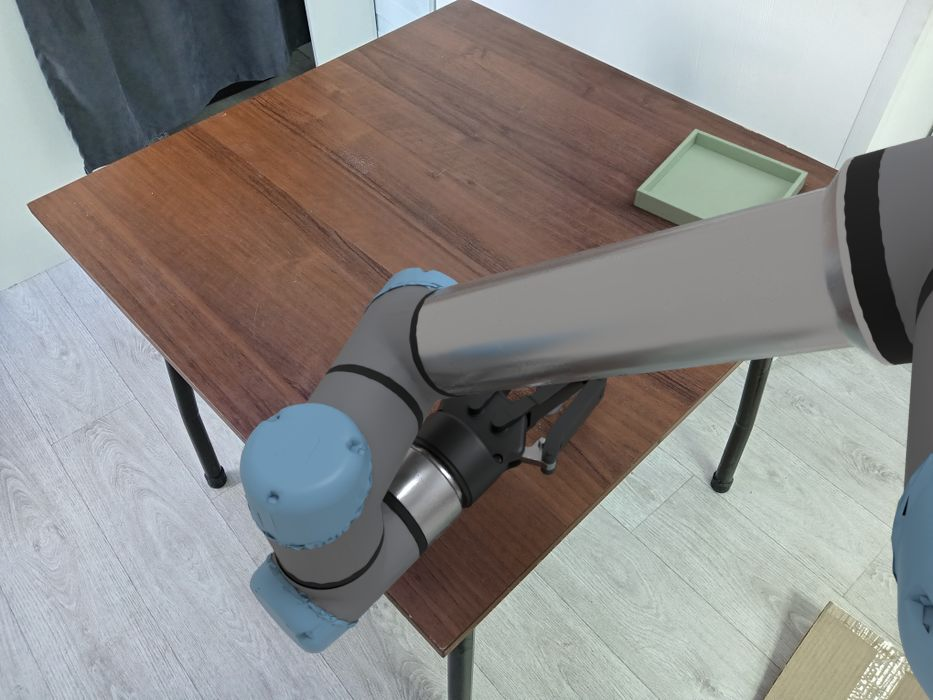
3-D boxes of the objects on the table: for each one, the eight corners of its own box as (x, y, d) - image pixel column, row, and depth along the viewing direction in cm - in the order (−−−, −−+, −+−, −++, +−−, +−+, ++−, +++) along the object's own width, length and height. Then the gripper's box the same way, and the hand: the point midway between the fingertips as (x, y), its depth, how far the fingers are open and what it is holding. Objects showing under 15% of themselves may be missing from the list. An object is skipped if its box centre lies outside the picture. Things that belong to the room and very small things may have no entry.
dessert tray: (802, 187, 97) (808, 172, 95) (749, 257, 89) (755, 241, 88) (691, 143, 103) (695, 128, 101) (633, 205, 95) (636, 189, 94)
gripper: (369, 444, 67) (540, 294, 78) (508, 560, 60) (676, 378, 71) (357, 393, 61) (545, 239, 72) (510, 516, 54) (692, 325, 65)
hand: (609, 308), depth 71 cm, fingers closed on flask, 3 cm apart
